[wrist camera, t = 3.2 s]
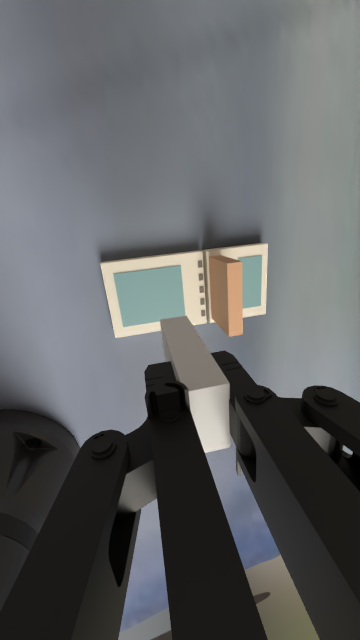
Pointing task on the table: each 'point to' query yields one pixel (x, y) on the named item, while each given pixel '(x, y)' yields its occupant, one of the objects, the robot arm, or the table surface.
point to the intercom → (235, 284)
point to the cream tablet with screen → (154, 291)
